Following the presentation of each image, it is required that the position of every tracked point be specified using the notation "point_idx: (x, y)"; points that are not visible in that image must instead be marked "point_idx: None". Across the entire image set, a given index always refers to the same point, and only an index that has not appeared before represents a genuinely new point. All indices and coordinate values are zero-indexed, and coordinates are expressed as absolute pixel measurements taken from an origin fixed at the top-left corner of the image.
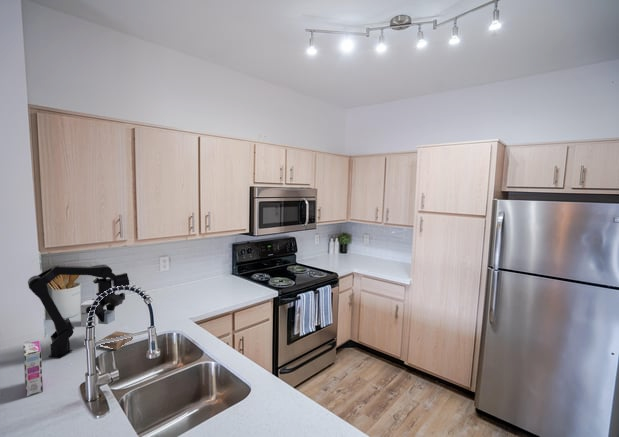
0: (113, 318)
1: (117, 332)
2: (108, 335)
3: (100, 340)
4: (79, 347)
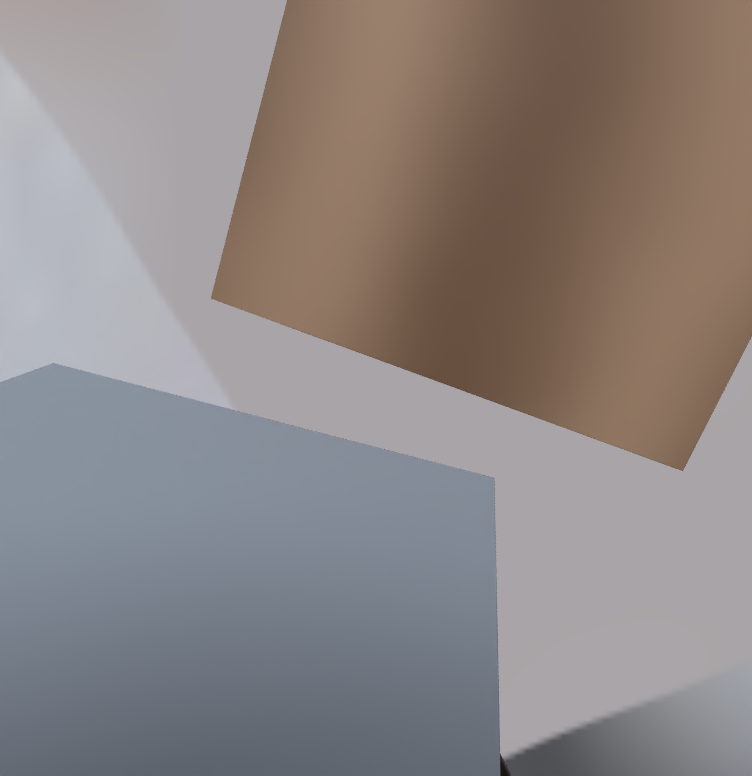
0: (63, 417)
1: (272, 229)
2: (422, 375)
3: (687, 440)
4: (574, 738)
